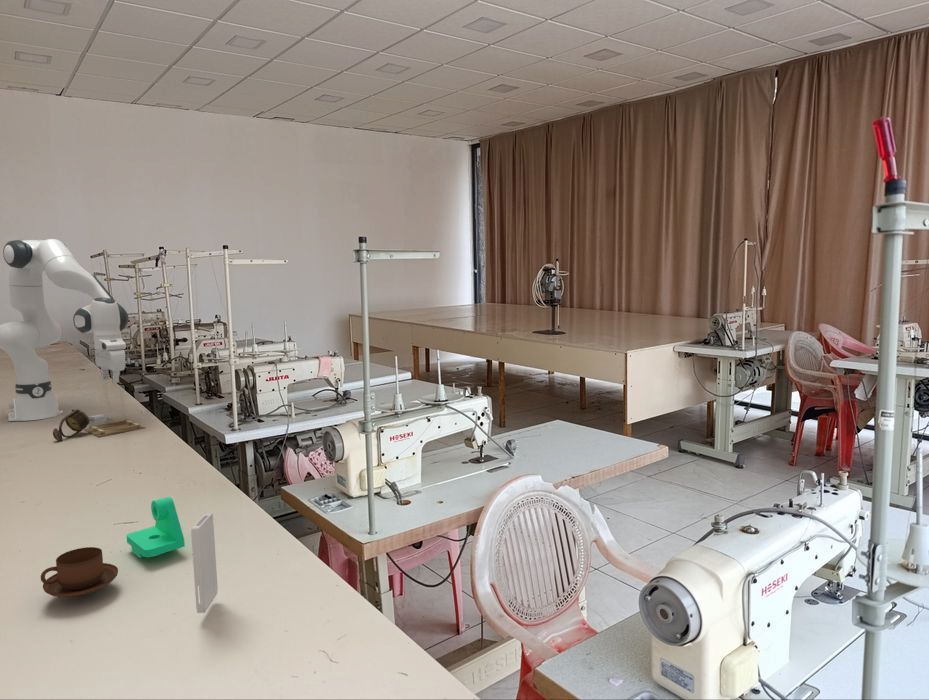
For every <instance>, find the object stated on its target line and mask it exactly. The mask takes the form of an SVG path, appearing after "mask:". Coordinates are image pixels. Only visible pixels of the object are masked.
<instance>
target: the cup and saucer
mask: <svg viewBox="0 0 929 700" xmlns="http://www.w3.org/2000/svg"><path fill="white" fill-rule="evenodd" d="M103 559H104V558H103V549H101V548H99V547H95V546H89V547H88V546H87V547H86V546H85V547H80V548H76V549H70V550H68V551H65V552H64V553H62V554H60V555H58V557H56V559H55V565H56V566H50V567H48V568H46V569H45V570H43V571H42V572H41V574H40V581H41V582H42V588H43V591H44V593H46V594H48V595H50V596H52V597H56V598H73V597H79V596H84V595H88V594H91V593H94V592H96V591H98V590H100V589H104V588H105V587H107V586H108V585H110V584H111V583H112V582H113V581H114V580H115V579H116V577H117V576H118V573H119V568H118V567H117V566H116V565H114V564H112V563H107V562H105V563H104V561H103ZM49 572H56V573H54V574H52V575H51V576H50V577H47V579H46V575H47V574H48V573H49Z"/></svg>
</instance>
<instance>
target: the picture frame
mask: <svg viewBox="0 0 929 700" xmlns="http://www.w3.org/2000/svg"><path fill="white" fill-rule="evenodd" d="M143 429H146V427H145V426H143V425H141V424H139V423H137V422H134V421H131V420H129V419H124V420H123V419H122V420H118V421H117V420H115V421H110V422H106V423H103V424H97V425H89V428H85V429H83V431H85V432H87V433H88V434H90V435H93V436H94V437H96V438H98V439H100V438H104V437H109V436H110V437H111V436H114V435H119V434H120V435H121V434H123V433H129V432H135V431H138V430H143Z"/></svg>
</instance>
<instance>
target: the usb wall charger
mask: <svg viewBox="0 0 929 700" xmlns="http://www.w3.org/2000/svg"><path fill="white" fill-rule="evenodd" d="M88 417H89V420H90V422H89V424H88V425H89V426H91V425H97V424H103V423H107V421H109V420H112V417H108V416H106V415H105V414H102V413H99V414H95V415H90V416H89V415H88Z"/></svg>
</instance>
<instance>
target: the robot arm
mask: <svg viewBox="0 0 929 700" xmlns="http://www.w3.org/2000/svg"><path fill="white" fill-rule="evenodd" d="M2 255H3V259H4V262H5V263H6V264H7V265H8V266H9V274H8V276H9V277H8V285H9V286H8V288H9V304H10V305H11V307H12V308H13V309H15V310H17V311H19V312H20V314H21V316H22V319H23V320H17V321H9V322H4V323H2V324H0V350H3V351H4V352H5V353H6V354H7V355H8V356H9V358H10V360H11V362H12V364H13V367H14V373H15V380H16V381H15V382H16V383H15V385H14V386H15V387H14V388H15V389H14V390H15V396H14V398H13V401H10V402H9V403H8V409H11V411H10V412H8V413H7V417H8V418H7V419H8V422H18V421H19V422H21V421H23V422H27V421H38V420H45V419H49V418H50V419H51V418H54V417H56V416H58V415H61V414H63V413H64V411H63V410H61V409H59V404H58V396H57V394H56V393H55V392H53V391H52V381H51V380H50V371H49V365H48V361H47V360H46V359H44V358H42V357H39V356H38V354H37V352H36V350H35V348H40V347H41V348H42V347H47V346H49V345H52V344H55V343H58V342H59V341H60V339H61V337H62V332H63V331H62V329H61V328H62V327H61V326H60V324H59V323H58V322H57V321H55V319H53V318H52V317H51V316H50V314H49V313H48V310H47V308H46V306H45V305H46V304H45V298H44V280H43V272H45V274H46V276H47V278H48V279H49V281H51V283H52V284H54V285H55V286H56V287H59V288H63V289H67V290H73V291H76V292H77V291H78V292H81V293H84V294H87V295H88V296H89V297H91V298H92V301H91V303H90V304H88V305H86V306H83V307H81V308H78V309H77V310H76V311H75V313H73V314H74V315H73V318H72V320H73V325H74V327H75V329H76V330H77V331H79V332H80V333H81V334H93V344H94V345H93V347H94V360H95V367H98V368H100V371H101V373H102V379H103V380H105V381H108V380H110V373H109V371H111V373H112V377H111V381H112V383H113V384H114V383H115V384H116V383H119V382H120V375H121V371H124V370H125V369H126V352H125V350H126V348H127V344H126V342H125V341H124V340H123V338H122V332H123V330H124V329H125V328H126V327H127V325H128V323H129V321H130V320H129V319H130V318H129V314H128V312H127V311H126V309H125V308H124V307H123V306H122V305H120V304H119V303H118V302H117V301H116V300H115V298H114V297H113V296H112V294H110V292H109V291H108V290H107V289H106V288H105V286H104V285H103V284H102V282H100V280H99V279H98V278H97V277H96V276H95V275H93V274H92V273H90V272H88V271H87V270H86V269H85V268H84V267H82V266H81V265H80V264H79V263H78V261H77V259H76V258H75V256H74V255H73V253H72V251H71V250H69V248H68V247H67V246H66V244H65V243H63V242H62V241H60V240H59V239H57V238H48V239H44V240H43V239H23V240H22V239H21V240H20V239H15V240H14V239H13V240H10V241H7V242H6V243H5V245H4V247H3V251H2Z"/></svg>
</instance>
